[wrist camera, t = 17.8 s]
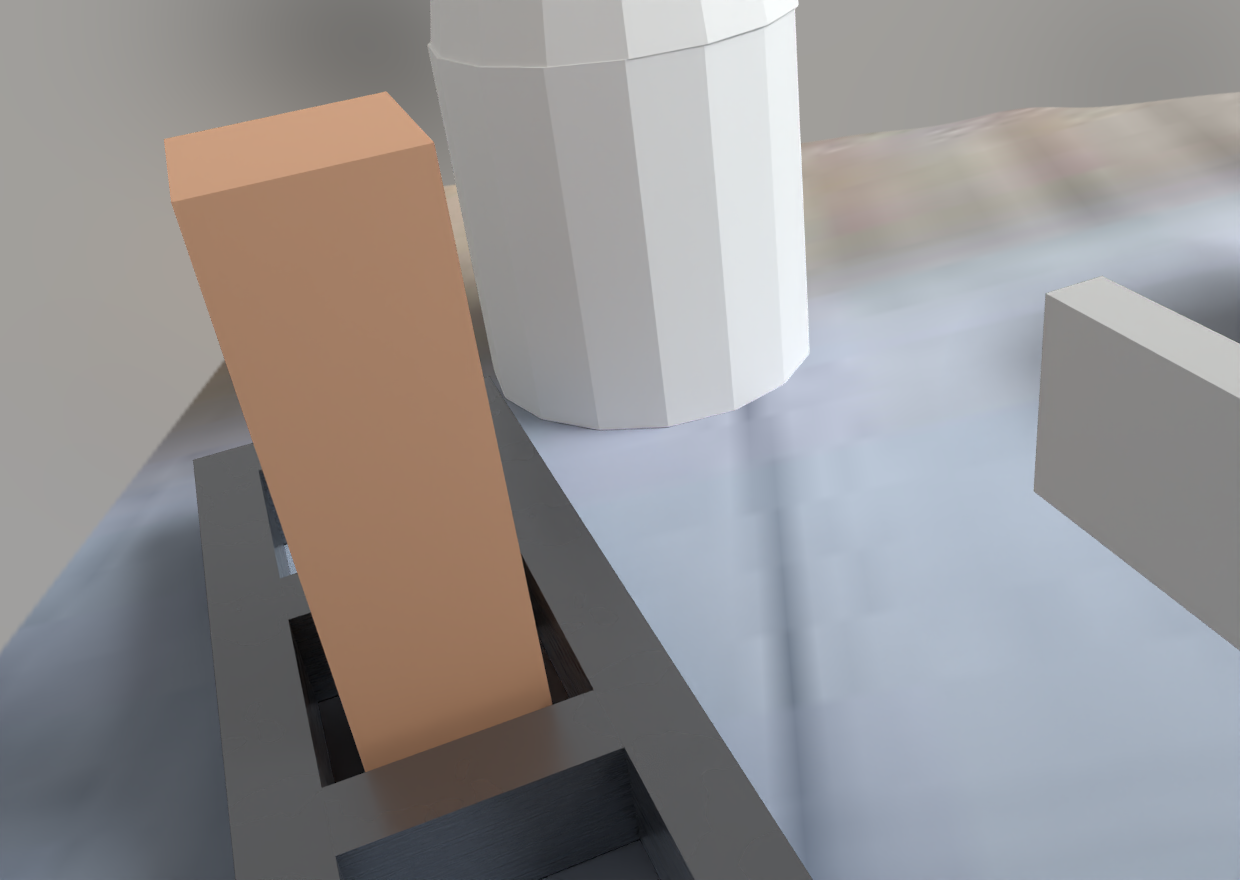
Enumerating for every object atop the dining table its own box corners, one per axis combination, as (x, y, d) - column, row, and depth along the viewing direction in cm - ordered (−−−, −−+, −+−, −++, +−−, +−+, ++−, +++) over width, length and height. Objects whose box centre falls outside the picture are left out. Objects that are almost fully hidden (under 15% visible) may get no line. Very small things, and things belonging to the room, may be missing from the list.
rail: (503, 447, 43) (488, 376, 41) (919, 1146, 20) (922, 1049, 19) (220, 531, 40) (193, 459, 38) (337, 1440, 18) (283, 1354, 16)
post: (514, 657, 33) (386, 91, 24) (565, 768, 29) (433, 142, 20) (355, 712, 31) (164, 139, 23) (386, 835, 28) (170, 202, 19)
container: (709, 257, 56) (667, -215, 45) (882, 355, 45) (879, -230, 35) (450, 339, 51) (338, -161, 41) (574, 471, 41) (465, -161, 30)
